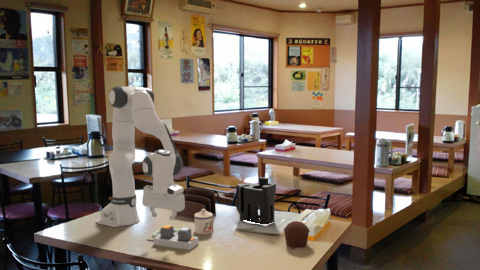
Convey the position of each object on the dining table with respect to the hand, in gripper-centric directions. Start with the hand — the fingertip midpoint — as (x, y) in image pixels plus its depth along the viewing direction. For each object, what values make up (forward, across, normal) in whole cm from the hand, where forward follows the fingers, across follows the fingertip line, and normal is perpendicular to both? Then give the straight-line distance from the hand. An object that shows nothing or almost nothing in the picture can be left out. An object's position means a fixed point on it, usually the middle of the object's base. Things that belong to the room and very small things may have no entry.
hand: (163, 218), depth 191 cm
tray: (+12, -5, +11) cm, 18 cm away
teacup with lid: (+12, +9, +22) cm, 27 cm away
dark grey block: (+11, +10, +2) cm, 15 cm away
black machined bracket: (+11, +25, +47) cm, 55 cm away
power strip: (+12, +3, +1) cm, 13 cm away
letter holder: (+12, -9, +45) cm, 47 cm away
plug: (+12, +1, +1) cm, 12 cm away
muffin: (+10, +54, +23) cm, 60 cm away
